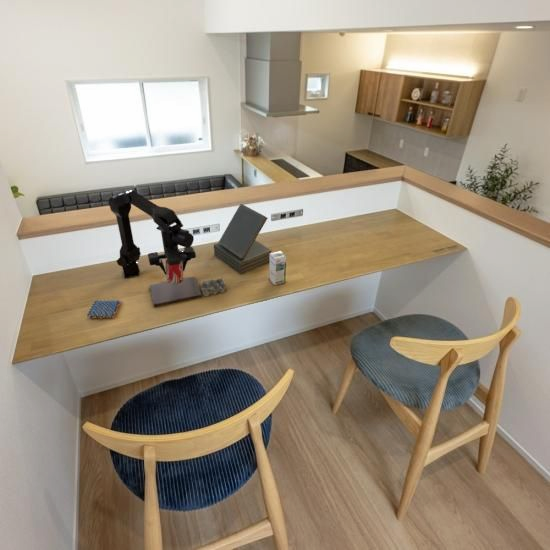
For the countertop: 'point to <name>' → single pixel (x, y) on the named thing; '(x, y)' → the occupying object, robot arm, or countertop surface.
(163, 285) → the cutting board
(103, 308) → the woven mat
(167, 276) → the soda can
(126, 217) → the robot arm
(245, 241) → the dark grey display stand
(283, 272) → the milk carton
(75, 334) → the countertop surface
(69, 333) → the countertop surface
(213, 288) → the grey lumpy block
